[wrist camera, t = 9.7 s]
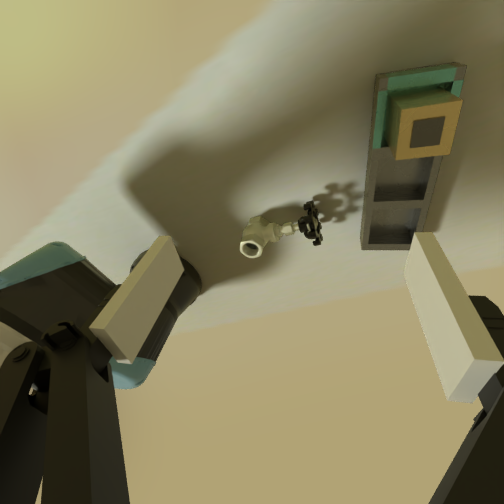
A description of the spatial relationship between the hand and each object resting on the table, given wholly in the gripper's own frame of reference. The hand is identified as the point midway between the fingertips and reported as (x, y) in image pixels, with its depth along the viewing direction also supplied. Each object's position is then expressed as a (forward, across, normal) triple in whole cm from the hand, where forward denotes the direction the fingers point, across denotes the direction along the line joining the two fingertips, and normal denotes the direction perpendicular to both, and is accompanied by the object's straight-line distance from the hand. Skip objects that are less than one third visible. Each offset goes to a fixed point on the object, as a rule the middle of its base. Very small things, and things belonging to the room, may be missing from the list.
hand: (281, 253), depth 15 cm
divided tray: (+25, +12, -6) cm, 28 cm away
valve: (+26, -4, -14) cm, 29 cm away
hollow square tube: (+24, +12, +1) cm, 27 cm away
